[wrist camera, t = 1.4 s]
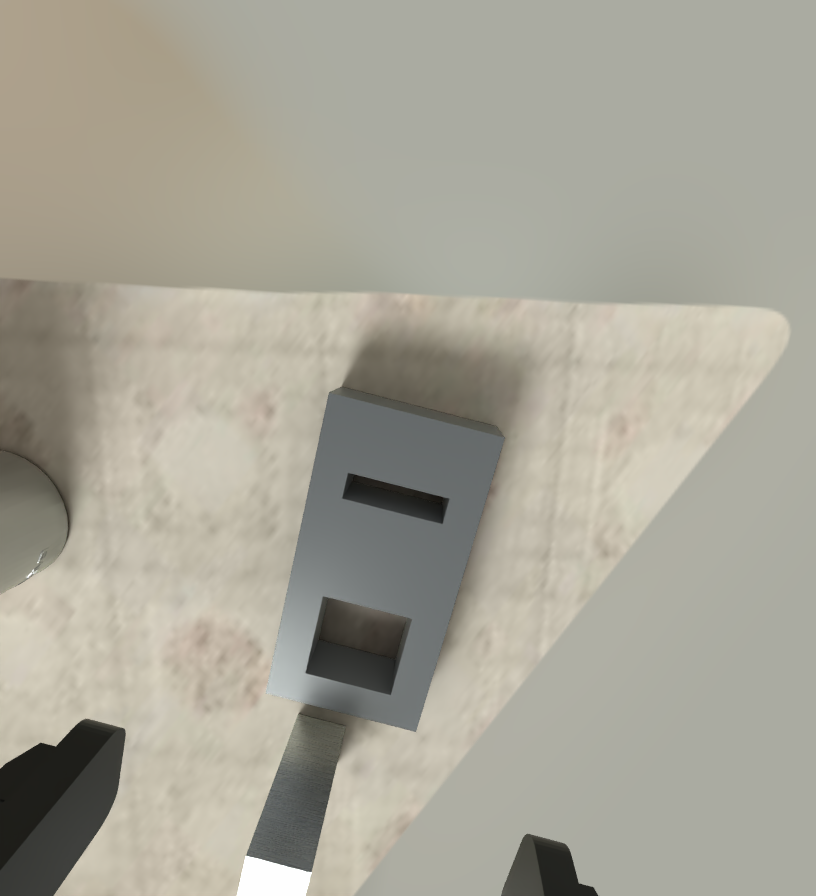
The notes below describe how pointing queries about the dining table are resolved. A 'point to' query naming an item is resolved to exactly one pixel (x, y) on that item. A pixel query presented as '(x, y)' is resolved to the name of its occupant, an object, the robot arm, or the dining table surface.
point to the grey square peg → (293, 812)
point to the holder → (382, 551)
